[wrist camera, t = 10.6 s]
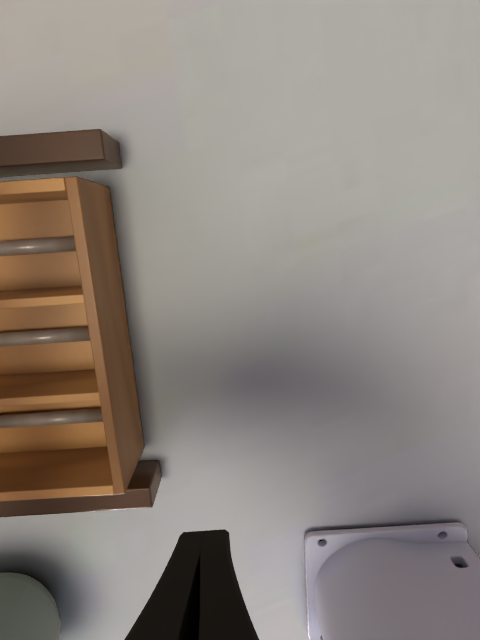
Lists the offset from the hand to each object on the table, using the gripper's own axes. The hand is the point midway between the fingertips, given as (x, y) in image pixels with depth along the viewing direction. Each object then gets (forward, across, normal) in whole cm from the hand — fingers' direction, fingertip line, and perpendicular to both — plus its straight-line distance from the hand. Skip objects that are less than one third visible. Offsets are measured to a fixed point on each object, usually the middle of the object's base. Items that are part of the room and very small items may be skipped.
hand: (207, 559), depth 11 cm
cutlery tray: (+11, +9, -4) cm, 15 cm away
